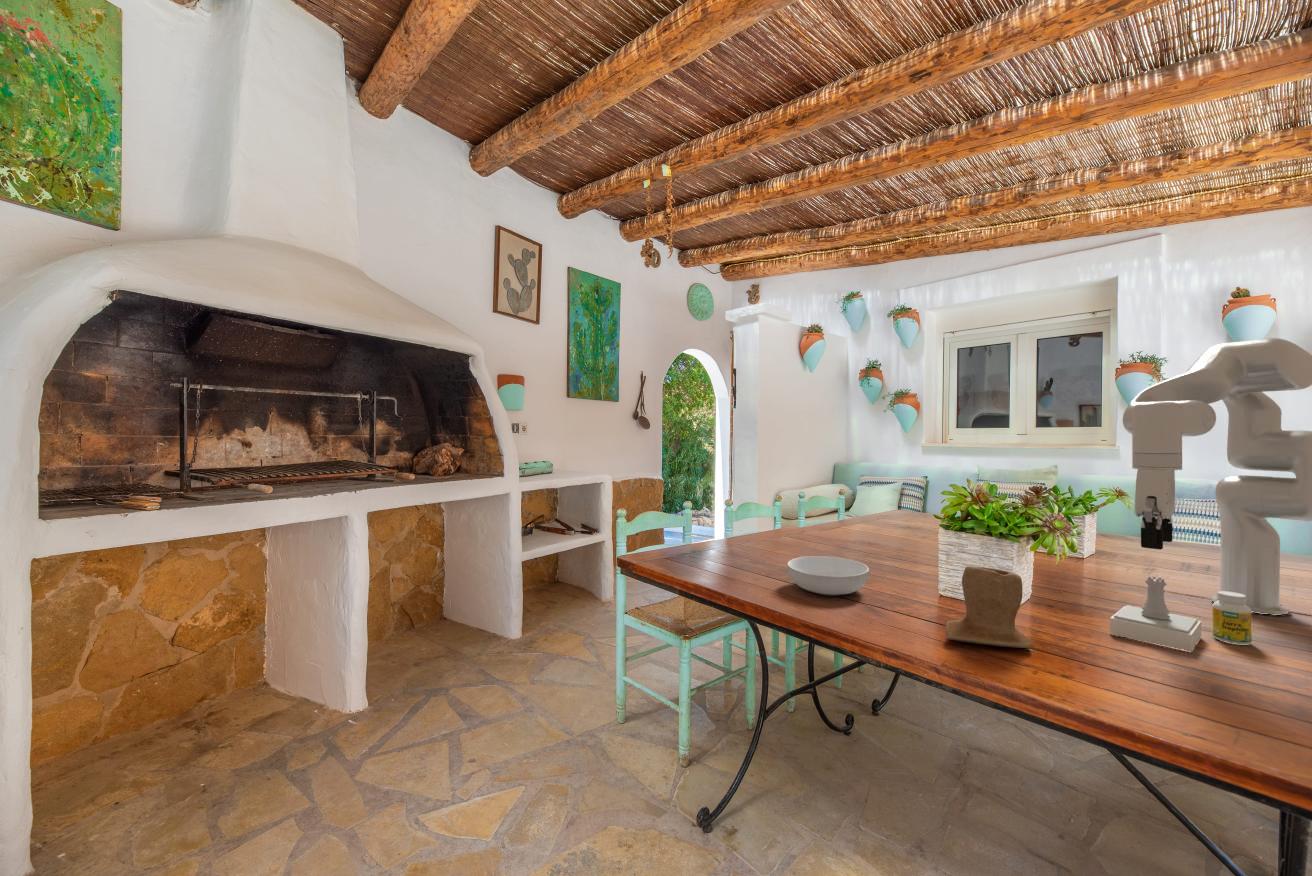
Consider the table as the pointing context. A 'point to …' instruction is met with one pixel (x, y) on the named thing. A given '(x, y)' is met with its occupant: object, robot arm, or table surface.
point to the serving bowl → (828, 574)
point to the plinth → (1156, 628)
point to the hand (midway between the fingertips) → (1156, 544)
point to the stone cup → (989, 609)
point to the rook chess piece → (1155, 600)
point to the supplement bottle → (1232, 618)
